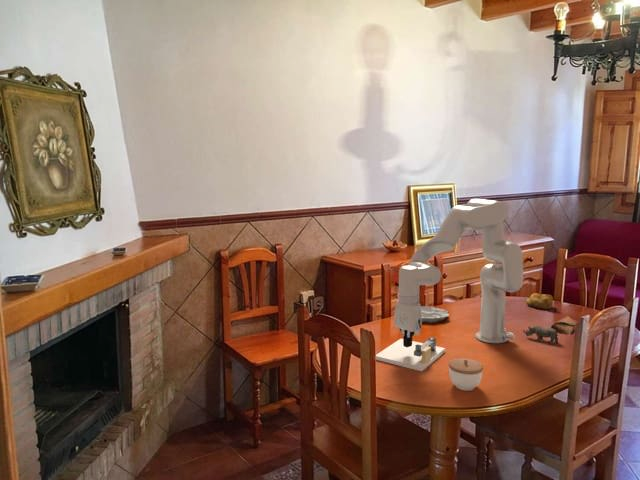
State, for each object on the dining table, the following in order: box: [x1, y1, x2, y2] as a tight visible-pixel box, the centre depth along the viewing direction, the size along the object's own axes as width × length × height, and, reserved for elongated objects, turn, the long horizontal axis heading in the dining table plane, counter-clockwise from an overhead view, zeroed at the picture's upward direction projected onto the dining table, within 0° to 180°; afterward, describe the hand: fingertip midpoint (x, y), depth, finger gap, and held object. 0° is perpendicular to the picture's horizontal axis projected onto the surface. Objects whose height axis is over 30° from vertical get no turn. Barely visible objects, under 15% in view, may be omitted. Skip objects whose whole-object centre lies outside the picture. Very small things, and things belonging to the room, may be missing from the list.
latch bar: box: [414, 336, 437, 357], centre depth 188 cm, size 16×3×6 cm, turn 146°
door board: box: [376, 338, 446, 372], centre depth 192 cm, size 19×22×6 cm
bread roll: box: [525, 292, 554, 310], centre depth 254 cm, size 13×10×8 cm
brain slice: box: [420, 305, 450, 324], centre depth 238 cm, size 20×17×3 cm
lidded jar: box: [448, 357, 484, 392], centre depth 166 cm, size 11×11×9 cm
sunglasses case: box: [550, 315, 578, 336], centre depth 222 cm, size 18×7×7 cm, turn 137°
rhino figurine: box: [522, 325, 559, 345], centre depth 208 cm, size 4×14×6 cm, turn 53°
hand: (407, 345), depth 190 cm, fingers closed
